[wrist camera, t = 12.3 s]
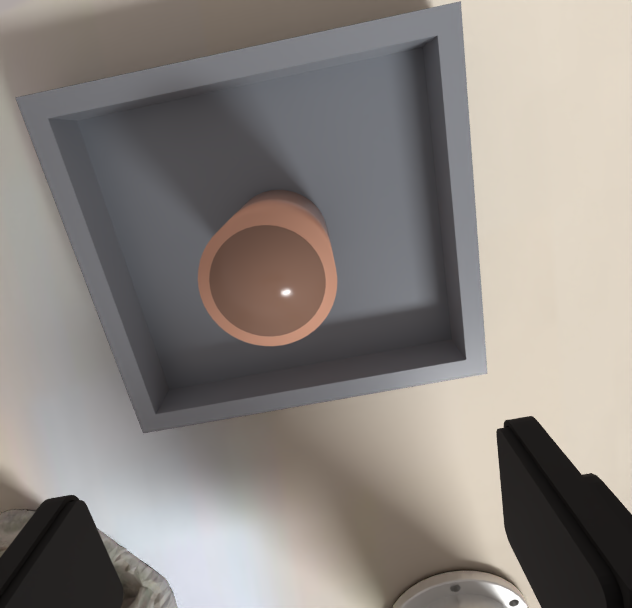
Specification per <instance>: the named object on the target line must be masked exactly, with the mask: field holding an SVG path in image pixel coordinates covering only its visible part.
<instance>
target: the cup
mask: <svg viewBox="0 0 632 608" xmlns="http://www.w3.org/2000/svg"><path fill="white" fill-rule="evenodd" d="M198 287H199V292H200V296H201V299H202V301H203V304H204V306H205V308H206V310H207V312H208V313H209V315H210V316H211V317H212V319H213V320H214V321H215V322H216V323H217V324H218V326H220V327H221V328H222V329H223V330H224V331H226V332H227V333H229V334H230V335H232V336H233V337H235V338H237V339H239V340H241V341H244V342H247V343H250V344H254V345H260V346H279V345H285V344H289V343H292V342H295V341H298V340H300V339H302V338H304V337H306V336H307V335H309V334H310V333H312V332H313V331H314V330H315V329H316V328H317V327H319V326H320V325H321V323H322V322H323V321H324V320H325V318H326V317H327V315H328V314H329V312H330V310H331V308H332V306H333V303H334V300H335V297H336V291H337V272H336V266H335V261H334V256H333V251H332V247H331V242H330V237H329V232H328V228H327V224H326V221H325V219H324V217H323V215H322V213H321V212H320V210H319V209H318V208H317V207H316V206H315V205H314V203H313V202H311V201H310V200H309V199H307V198H306V197H304V196H302V195H300V194H298V193H296V192H292V191H288V190H270V191H266V192H263V193H260V194H258V195H256V196H254V197H253V198H251V199H250V200H249V201H247V202H246V203H245V204H244V205H243V206H242V207H241V208H240V209H239V210H238V211H237V212H236V213H235V214H234V215H233V216H232V217H231V218H230V219H229V220H228V221H227V222H226V223H225V224H224V226H223V227H222V228H221V229H220V230H219V231H218V232H217V233H216V234H215V235H214V236H213V237H212V238H211V240H210V241H209V242H208V244H207V245H206V247H205V249H204V251H203V253H202V256H201V259H200V263H199V268H198Z"/></svg>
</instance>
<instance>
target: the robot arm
mask: <svg viewBox="0 0 632 608" xmlns="http://www.w3.org/2000/svg"><path fill="white" fill-rule="evenodd" d="M497 446H498V457H499V469H500V480H501V492H502V503H503V515H504V525H505V531H506V534H507V538H508V540H509V543H510V545H511V547H512V549H513V551H514V553H515V555H516V557H517V559H518V561H519V563H520V565H521V567H522V569H523V571H524V573H525V575H526V577H527V579H528V581H529V583H530V585H531V587H532V589H533V591H534V593H535V595H536V597H537V599H538V601H539V603H540V605H541V607H542V608H632V514H631V513H630V512H629V511H628V510H627V509H626V508H625V506H624V505H623V504H622V503H621V502H620V501H619V499H618V498H617V497H616V496H615V495H614V494H613V493H612V491H611V490H610V489H609V488H608V487H607V486H606V485H605V483H604V482H603V481H602V480H601V479H600V478H599V477H598V476H596V475H594V474H592V473H590V474H584V475H581V473H580V472H579V471H578V470H577V468H576V467H575V466H574V465H573V464H572V462H571V461H570V460H569V459H568V458H567V456H566V455H565V454H564V453H563V452H562V450H561V449H560V448H559V447H558V445H557V444H556V443H555V442H554V441H553V439H552V438H551V437H550V436H549V435H548V433H547V432H546V431H545V430H544V428H543V427H542V426H541V425H540V424H539V422H538V421H537V420H536V419H535V418H534V417H532V416H529V417H523V418H517V419H511V420H506V421H505V422H504V428H500V429H497ZM123 593H124V592H123V586H122V583H121V581H120V579H119V577H118V575H117V572H116V570H115V568H114V566H113V563H112V561H111V559H110V557H109V554H108V552H107V550H106V548H105V545H104V543H103V541H102V539H101V536H100V534H99V532H98V530H97V527H96V525H95V523H94V521H93V519H92V516H91V514H90V512H89V510H88V507H87V505H86V503H85V502H84V501H82V500H79V499H78V497H76V496H75V495H68V496H62V497H56V498H51V499H47V500H45V501H44V502H43V503H42V504H41V505H40V506H39V508H38V509H37V510H36V512H35V513H34V514H33V516H32V517H31V518H30V519H29V521H28V522H27V523H26V525H25V526H24V527H23V529H22V530H21V531H20V532H19V534H18V535H17V536H16V538H15V539H14V540H13V542H12V543H11V544H10V545H9V547H8V548H7V549H6V551H5V552H4V553H3V554H2V556H1V557H0V608H120V607H121V605H122V602H123ZM392 608H529V607H528V605H527V603H526V600H525V598H524V597H523V595H522V594H521V592H520V591H519V590H518V589H517V588H516V587H515V586H514V585H513V584H511V583H510V582H508V581H506V580H505V579H503V578H501V577H498V576H495V575H492V574H490V573H485V572H479V571H462V570H461V571H453V572H446V573H442V574H438V575H434V576H432V577H429V578H427V579H425V580H422V581H420V582H419V583H417V584H415V585H414V586H412V587H411V588H409V589H408V590H407V591H406V592H405V593H404V594H402V595H401V596H400V598H399V599H398V600H397V601H396V603H395V604H394V605H393V607H392Z"/></svg>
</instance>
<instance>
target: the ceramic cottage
mask: <svg viewBox="0 0 632 608" xmlns="http://www.w3.org/2000/svg"><path fill="white" fill-rule="evenodd" d="M35 512H36V511H30V510H29V511H27V509H23V511H22V510H16V509H14V510H10V511H5V512H3V513H1V514H0V557H1V556H2V554H3V553H4V552H5V551H6V549H7V548H8V547H9V545H10V544H11V543H12V542H13V540H14V539H15V538H16V536H17V535H18V534H19V532H20V531H21V530H22V529H23V527H24V526H25V525H26V523H27V522H28V521H29V519H30V518H31V517H32V516H33V514H34V513H35ZM97 530H98V532H99V534H100V536H101V539H102V541H103V543H104V545H105V548H106V550H107V552H108V554H109V557H110V559H111V561H112V563H113V566H114V568H115V570H116V572H117V575H118V577H119V579H120V581H121V583H122V586H123V592H124V593H123V602H122V605H121V607H120V608H178V607H177V604H176V600H175V597H174V594H173V593H172V589H170V586H169V584H168V582H167V580H166V579H165V578H164V577H163V576H161V575H160V574H159V575H158V572H155V571H154V569H152V568H150V567H149V566H148V567H147V564H145V563H144V562H143V561H140V560H139V559H138V558H137V557H136V556H134V555H133V554H132V553H130V552H128V551H127V550H126V548H123V547H121V546H120V545H117V543H116V542H115V541H112V539H111V538H110V537H108V536H107V535H106V534H104V533H103V532H101V531H100V530H99V529H98V528H97Z"/></svg>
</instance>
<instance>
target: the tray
mask: <svg viewBox="0 0 632 608" xmlns="http://www.w3.org/2000/svg"><path fill="white" fill-rule="evenodd" d="M16 101H17V103H18V106H19V108H20V111H21V114H22V116H23V119H24V122H25V124H26V127H27V129H28V132H29V135H30V137H31V140H32V143H33V145H34V148H35V150H36V153H37V156H38V158H39V161H40V164H41V166H42V169H43V171H44V174H45V177H46V179H47V182H48V185H49V187H50V190H51V192H52V195H53V198H54V200H55V203H56V206H57V208H58V211H59V213H60V216H61V219H62V221H63V224H64V227H65V229H66V232H67V234H68V237H69V240H70V242H71V245H72V248H73V250H74V253H75V255H76V258H77V261H78V263H79V266H80V269H81V271H82V274H83V276H84V279H85V282H86V284H87V287H88V290H89V292H90V295H91V297H92V300H93V303H94V305H95V308H96V311H97V313H98V316H99V318H100V321H101V324H102V326H103V329H104V332H105V334H106V337H107V339H108V342H109V345H110V347H111V350H112V353H113V355H114V358H115V360H116V363H117V366H118V368H119V371H120V374H121V376H122V379H123V381H124V384H125V387H126V389H127V392H128V395H129V397H130V400H131V402H132V405H133V408H134V410H135V413H136V416H137V418H138V421H139V423H140V426H141V429H142V431H143V433H148V432H153V431H159V430H165V429H171V428H177V427H182V426H188V425H194V424H200V423H205V422H211V421H217V420H223V419H228V418H234V417H240V416H246V415H252V414H257V413H263V412H269V411H275V410H280V409H286V408H292V407H298V406H303V405H309V404H315V403H321V402H327V401H332V400H338V399H344V398H350V397H355V396H361V395H367V394H373V393H378V392H384V391H390V390H396V389H402V388H407V387H413V386H419V385H425V384H430V383H436V382H442V381H448V380H453V379H459V378H465V377H471V376H477V375H482V374H487V361H486V347H485V333H484V320H483V306H482V292H481V278H480V264H479V250H478V236H477V222H476V208H475V194H474V180H473V166H472V152H471V138H470V124H469V110H468V96H467V82H466V68H465V54H464V40H463V26H462V12H461V1H460V2H456V3H451V4H446V5H442V6H437V7H432V8H428V9H423V10H419V11H414V12H409V13H405V14H400V15H395V16H391V17H386V18H382V19H377V20H372V21H368V22H363V23H358V24H354V25H349V26H345V27H340V28H335V29H331V30H326V31H321V32H317V33H312V34H308V35H303V36H298V37H294V38H289V39H284V40H280V41H275V42H271V43H266V44H261V45H257V46H252V47H247V48H243V49H238V50H234V51H229V52H224V53H220V54H215V55H210V56H206V57H201V58H197V59H192V60H187V61H183V62H178V63H173V64H169V65H164V66H160V67H155V68H150V69H146V70H141V71H136V72H132V73H127V74H123V75H118V76H113V77H109V78H104V79H99V80H95V81H90V82H86V83H81V84H76V85H72V86H67V87H62V88H58V89H53V90H49V91H44V92H39V93H35V94H30V95H25V96H21V97H16ZM270 190H288V191H292V192H296V193H298V194H300V195H302V196H304V197H306V198H307V199H309V200H310V201H311V202H313V203H314V205H315V206H316V207H317V208H318V209H319V210H320V212H321V213H322V215H323V217H324V219H325V221H326V224H327V228H328V232H329V237H330V242H331V247H332V251H333V256H334V261H335V266H336V272H337V291H336V297H335V300H334V303H333V306H332V308H331V310H330V312H329V314H328V315H327V317H326V318H325V320H324V321H323V322H322V323H321V325H320V326H319V327H317V328H316V329H315V330H314V331H313V332H312V333H310V334H309V335H307V336H306V337H304V338H302V339H300V340H298V341H295V342H292V343H289V344H285V345H279V346H260V345H254V344H250V343H247V342H244V341H241V340H239V339H237V338H235V337H233V336H232V335H230V334H229V333H227V332H226V331H224V330H223V329H222V328H221V327H220V326H218V324H217V323H216V322H215V321H214V320H213V319H212V317H211V316H210V315H209V313H208V312H207V310H206V308H205V306H204V304H203V301H202V299H201V296H200V292H199V287H198V268H199V263H200V259H201V256H202V253H203V251H204V249H205V247H206V245H207V244H208V242H209V241H210V240H211V238H212V237H213V236H214V235H215V234H216V233H217V232H218V231H219V230H220V229H221V228H222V227H223V226H224V224H225V223H226V222H227V221H228V220H229V219H230V218H231V217H232V216H233V215H234V214H235V213H236V212H237V211H238V210H239V209H240V208H241V207H242V206H243V205H244V204H245V203H246V202H247V201H249V200H250V199H251V198H253V197H254V196H256V195H258V194H260V193H263V192H266V191H270Z"/></svg>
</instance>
